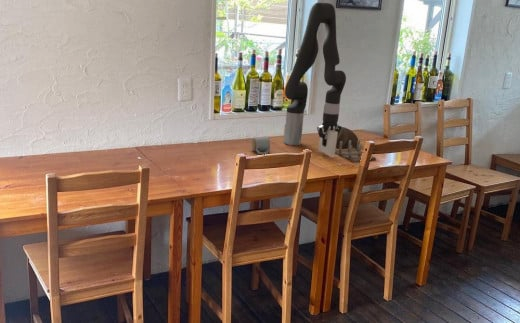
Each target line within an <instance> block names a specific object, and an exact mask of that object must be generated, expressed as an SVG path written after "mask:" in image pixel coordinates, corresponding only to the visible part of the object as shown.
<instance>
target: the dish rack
mask: <svg viewBox="0 0 520 323" xmlns="http://www.w3.org/2000/svg"><path fill="white" fill-rule="evenodd" d="M342 142H343V141H340V147H339V149H336V150H335V156H338V157H340V158H342V159H345V160H347V161H349V162H351V163H354V164H355V163H361V162H360V160H361V156H362V153H364V151H362V144H361V139H358V144H357V148H352V145H351V142H352V141H351V140H349V146H348V149H342ZM371 156H372V155H371ZM374 161H377V157H375V156H372V158H371V161H370V162H374Z"/></svg>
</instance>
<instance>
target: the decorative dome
mask: <svg viewBox="0 0 520 323" xmlns="http://www.w3.org/2000/svg"><path fill="white" fill-rule="evenodd" d="M341 127H342V128H341V130H340V132H339V134H338V136H337V142H336V150H339V147H340V141H343V142H342V149H348V146H349V140H351V141H352V142H351V145H352V148H354V149H357V144H358V140H359V138H358V136H357V135H356V133H355V132H354V131H352V130H351V129H349V128H348V127H344V126H341ZM335 129H336V128H335Z"/></svg>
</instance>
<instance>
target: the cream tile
mask: <svg viewBox="0 0 520 323" xmlns="http://www.w3.org/2000/svg"><path fill="white" fill-rule="evenodd" d="M322 131H323V130H322ZM337 134H338V132H337V131H334V130H330V131H329V133H328V136H327V143H326V146H325V147H324V146H323V145H322V140H323V139H322V138H321V137H319V142H318V151H319V152H322V154H325V155H327V156H329V157H332V156H333V157H334V156H336V154H335V150H337V148H336V142H337Z"/></svg>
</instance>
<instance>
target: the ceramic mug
mask: <svg viewBox="0 0 520 323" xmlns="http://www.w3.org/2000/svg"><path fill="white" fill-rule="evenodd" d="M251 148H252V151H253V152H256V153H257V154H259V155H260V154H266V155H268V153H269V152H270V150H271V140H270V137H269V136H268V135H267V136H266V135H265V136H255V137H253V138H252V139H251Z"/></svg>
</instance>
